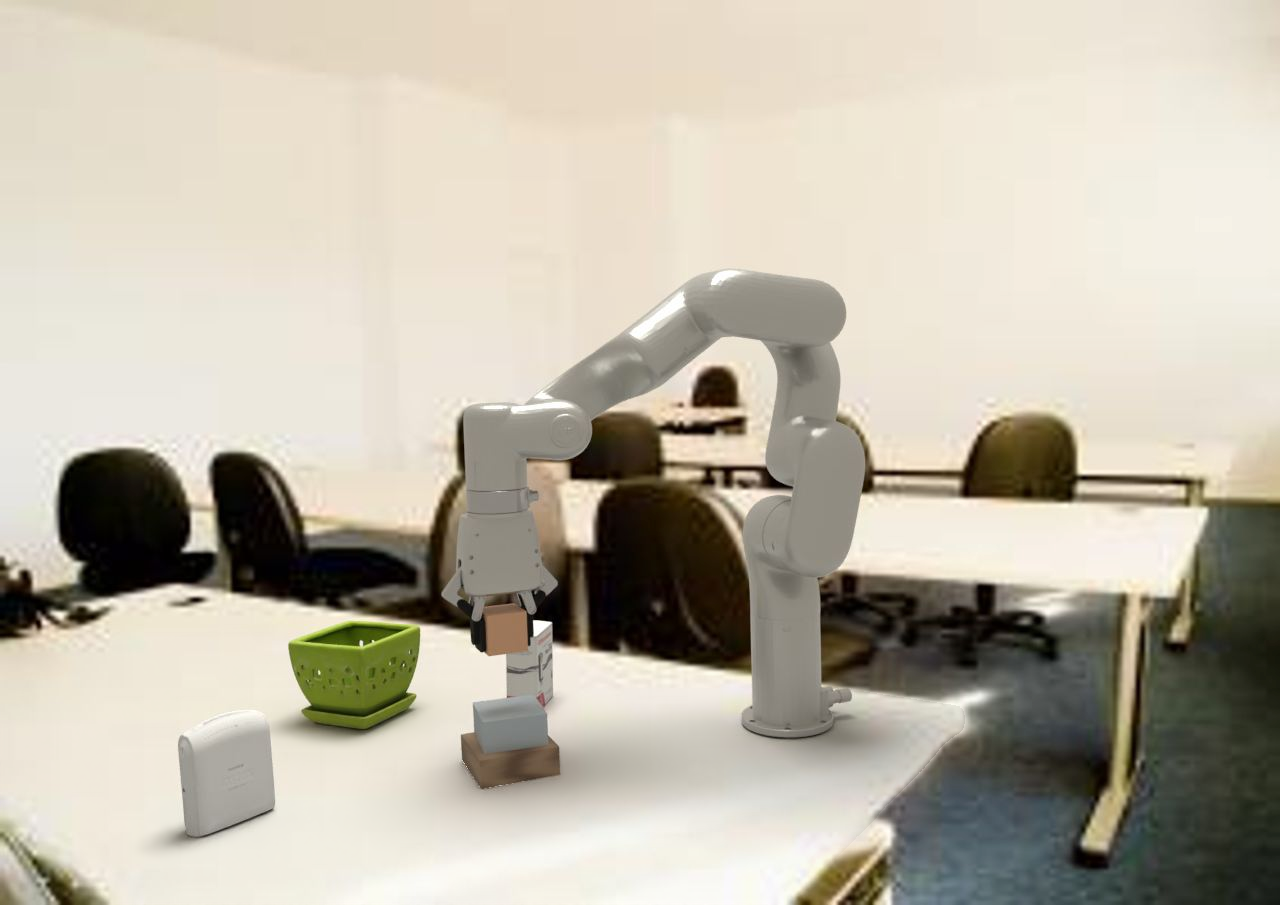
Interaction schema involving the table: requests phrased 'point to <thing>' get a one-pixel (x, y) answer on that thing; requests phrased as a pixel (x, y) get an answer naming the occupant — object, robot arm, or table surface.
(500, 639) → the terracotta cube
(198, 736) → the photo printer
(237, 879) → the table surface
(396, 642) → the flower pot
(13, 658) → the table surface
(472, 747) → the walnut slab
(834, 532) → the robot arm
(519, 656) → the ink box
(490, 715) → the slate block
